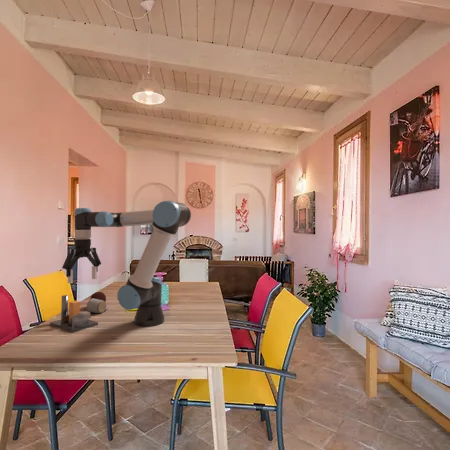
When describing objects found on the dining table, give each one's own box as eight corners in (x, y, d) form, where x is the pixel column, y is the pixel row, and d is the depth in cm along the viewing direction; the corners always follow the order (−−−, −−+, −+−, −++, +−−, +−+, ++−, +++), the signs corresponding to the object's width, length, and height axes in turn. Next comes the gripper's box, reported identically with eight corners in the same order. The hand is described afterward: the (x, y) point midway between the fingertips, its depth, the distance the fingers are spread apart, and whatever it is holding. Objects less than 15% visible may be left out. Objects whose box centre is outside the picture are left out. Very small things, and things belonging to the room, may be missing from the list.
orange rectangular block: (75, 320, 152) (75, 300, 152) (79, 322, 150) (79, 301, 150) (68, 322, 149) (69, 302, 149) (73, 323, 147) (73, 303, 147)
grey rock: (94, 323, 148) (95, 311, 148) (79, 328, 141) (80, 315, 141) (87, 321, 151) (87, 309, 151) (72, 326, 144) (72, 313, 144)
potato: (86, 310, 175) (87, 294, 176) (94, 304, 187) (94, 289, 187) (102, 310, 176) (102, 294, 176) (108, 304, 188) (108, 289, 188)
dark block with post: (98, 324, 150) (98, 298, 150) (73, 332, 139) (73, 303, 139) (74, 318, 160) (75, 293, 160) (49, 324, 149) (50, 298, 149)
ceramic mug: (97, 315, 166) (98, 301, 166) (85, 313, 168) (86, 299, 169) (111, 310, 176) (111, 297, 176) (99, 309, 178) (99, 296, 179)
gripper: (98, 237, 165) (98, 276, 165) (54, 239, 144) (54, 284, 143) (108, 238, 162) (108, 277, 162) (64, 239, 140) (64, 285, 140)
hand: (82, 281), depth 152 cm, fingers open, 13 cm apart
